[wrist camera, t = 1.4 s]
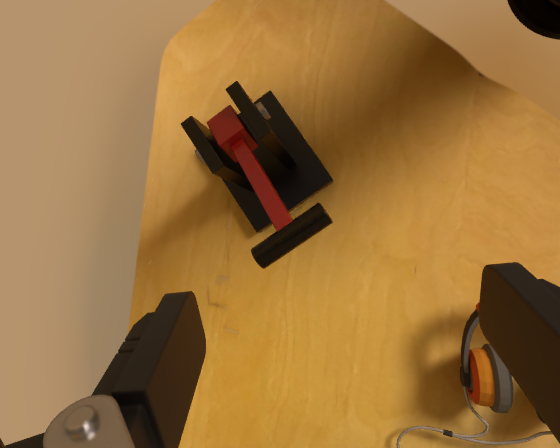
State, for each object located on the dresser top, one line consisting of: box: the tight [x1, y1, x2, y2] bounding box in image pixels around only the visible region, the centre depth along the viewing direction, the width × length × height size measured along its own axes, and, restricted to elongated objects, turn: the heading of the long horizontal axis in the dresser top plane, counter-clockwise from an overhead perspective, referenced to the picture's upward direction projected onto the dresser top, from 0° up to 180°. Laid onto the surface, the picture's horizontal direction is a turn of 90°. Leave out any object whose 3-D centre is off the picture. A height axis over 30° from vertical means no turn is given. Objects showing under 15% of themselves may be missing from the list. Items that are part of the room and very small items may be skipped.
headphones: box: [397, 303, 553, 448], centre depth 31 cm, size 17×5×20 cm
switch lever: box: [207, 105, 333, 269], centre depth 25 cm, size 12×5×2 cm, turn 34°
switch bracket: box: [181, 81, 333, 232], centre depth 32 cm, size 11×9×13 cm
